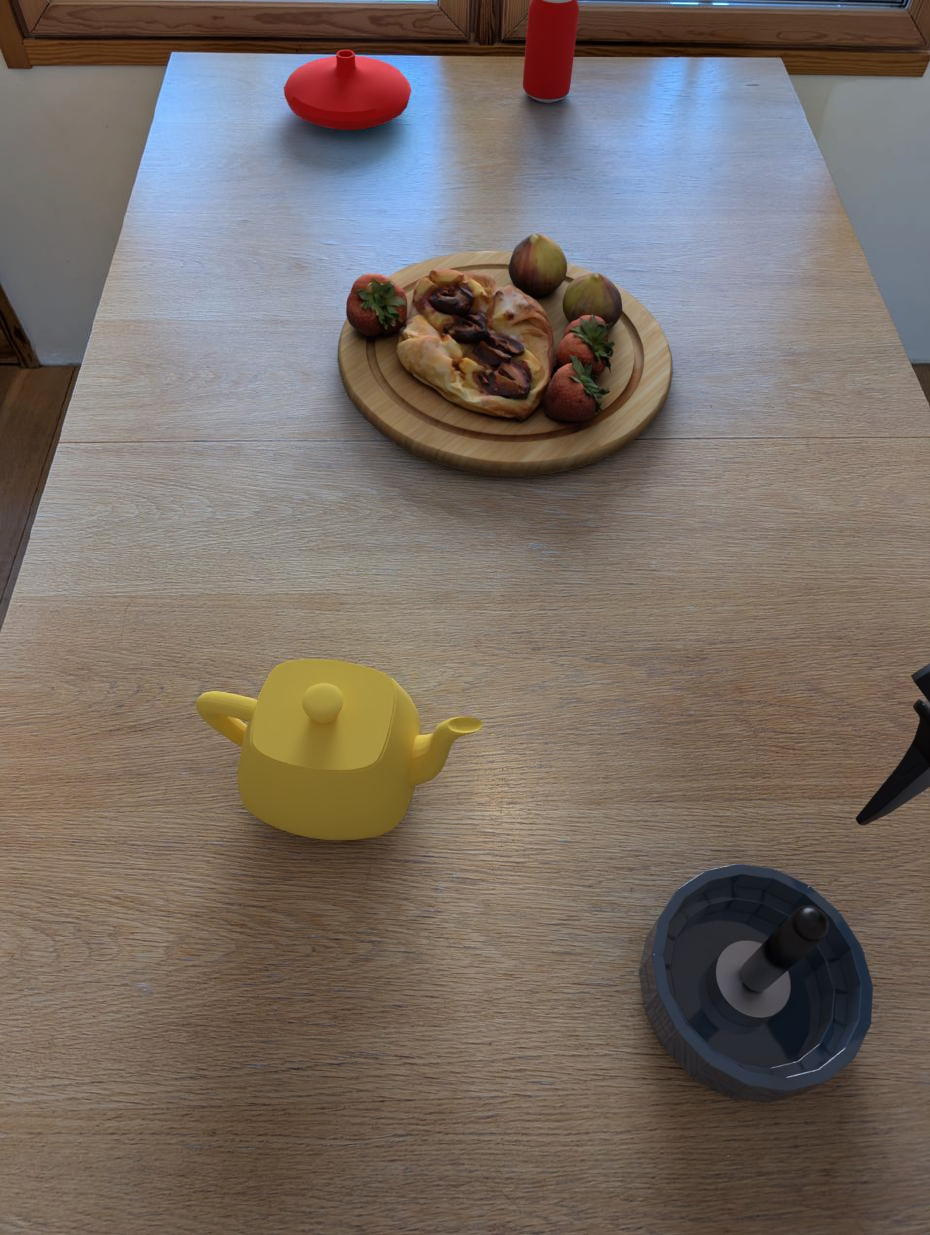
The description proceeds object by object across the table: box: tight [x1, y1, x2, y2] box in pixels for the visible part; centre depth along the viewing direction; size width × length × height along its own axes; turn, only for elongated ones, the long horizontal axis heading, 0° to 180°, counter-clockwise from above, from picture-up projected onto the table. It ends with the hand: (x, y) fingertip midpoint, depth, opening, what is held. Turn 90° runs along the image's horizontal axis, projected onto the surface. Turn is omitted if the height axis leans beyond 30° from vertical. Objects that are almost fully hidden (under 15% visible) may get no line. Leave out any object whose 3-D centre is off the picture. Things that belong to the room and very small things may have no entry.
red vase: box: [283, 49, 412, 131], centre depth 115 cm, size 16×16×7 cm
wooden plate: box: [337, 233, 674, 477], centre depth 88 cm, size 32×32×8 cm
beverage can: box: [522, 0, 580, 104], centre depth 118 cm, size 6×6×12 cm
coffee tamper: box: [707, 905, 829, 1026], centre depth 51 cm, size 4×4×13 cm
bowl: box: [638, 863, 874, 1104], centre depth 55 cm, size 12×13×5 cm
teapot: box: [195, 658, 483, 841], centre depth 60 cm, size 18×11×11 cm, turn 82°
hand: (906, 897), depth 51 cm, fingers open, 9 cm apart
